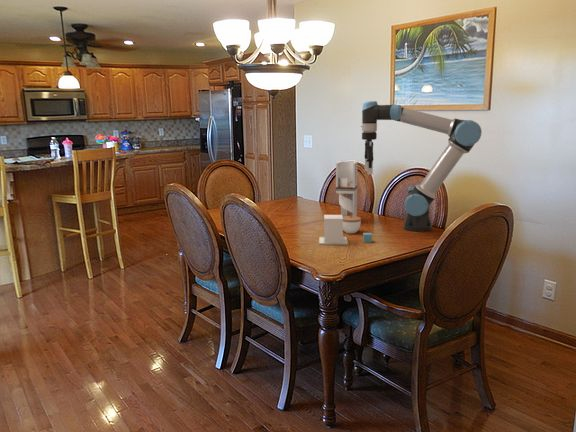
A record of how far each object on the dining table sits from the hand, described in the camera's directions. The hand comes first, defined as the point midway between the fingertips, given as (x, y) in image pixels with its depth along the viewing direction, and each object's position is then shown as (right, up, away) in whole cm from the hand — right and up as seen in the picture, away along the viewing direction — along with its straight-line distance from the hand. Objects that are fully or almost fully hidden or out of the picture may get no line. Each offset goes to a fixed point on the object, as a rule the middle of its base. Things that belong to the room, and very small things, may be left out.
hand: (368, 172), depth 248 cm
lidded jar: (-9, -32, +5) cm, 33 cm away
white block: (-20, -35, -13) cm, 42 cm away
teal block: (-3, -36, -14) cm, 38 cm away
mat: (-20, -35, -13) cm, 43 cm away
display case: (-8, -26, +30) cm, 41 cm away
